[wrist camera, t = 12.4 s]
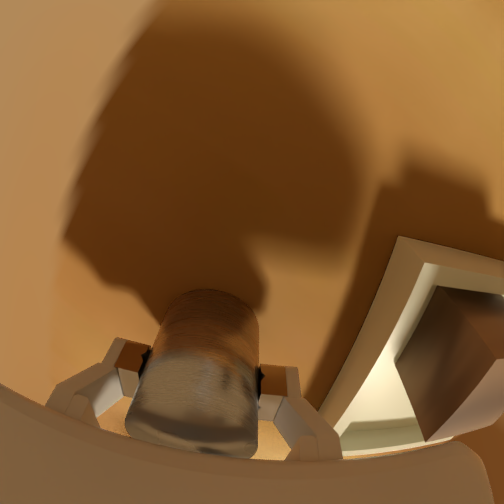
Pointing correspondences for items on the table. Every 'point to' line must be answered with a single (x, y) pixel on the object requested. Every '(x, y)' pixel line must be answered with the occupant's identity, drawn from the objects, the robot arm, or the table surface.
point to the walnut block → (456, 363)
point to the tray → (397, 345)
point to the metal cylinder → (201, 378)
